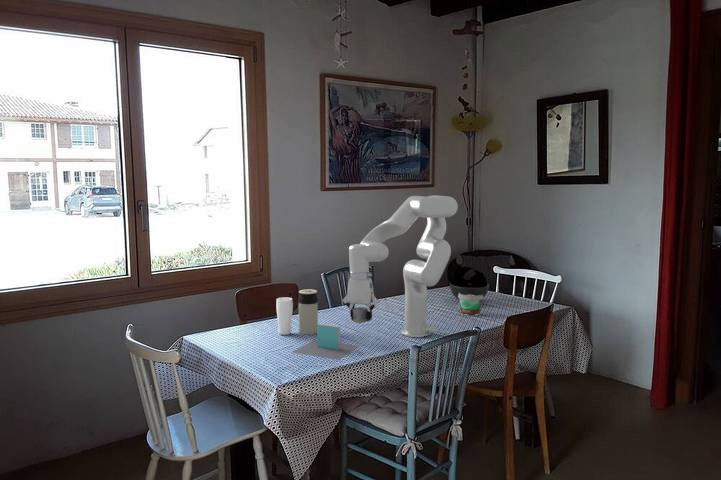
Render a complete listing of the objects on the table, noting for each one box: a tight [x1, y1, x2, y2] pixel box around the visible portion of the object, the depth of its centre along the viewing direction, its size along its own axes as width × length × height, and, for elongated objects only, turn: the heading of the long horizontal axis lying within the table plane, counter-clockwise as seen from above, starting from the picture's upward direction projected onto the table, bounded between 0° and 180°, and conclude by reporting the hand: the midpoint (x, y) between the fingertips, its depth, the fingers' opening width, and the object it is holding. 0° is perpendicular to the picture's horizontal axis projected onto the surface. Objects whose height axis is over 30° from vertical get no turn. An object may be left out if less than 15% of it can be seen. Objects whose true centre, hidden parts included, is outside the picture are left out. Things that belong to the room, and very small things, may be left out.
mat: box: [292, 339, 360, 361], centre depth 228 cm, size 20×18×1 cm
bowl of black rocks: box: [449, 266, 490, 302], centre depth 305 cm, size 20×20×19 cm
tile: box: [316, 322, 341, 350], centre depth 229 cm, size 9×2×9 cm, turn 66°
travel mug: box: [298, 288, 319, 335], centre depth 250 cm, size 8×8×18 cm
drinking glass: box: [276, 296, 294, 336], centre depth 248 cm, size 7×7×15 cm
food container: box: [458, 292, 485, 315], centre depth 282 cm, size 12×6×10 cm, turn 68°
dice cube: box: [351, 306, 368, 325], centre depth 235 cm, size 5×5×5 cm
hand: (361, 319), depth 235 cm, fingers closed on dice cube, 6 cm apart
